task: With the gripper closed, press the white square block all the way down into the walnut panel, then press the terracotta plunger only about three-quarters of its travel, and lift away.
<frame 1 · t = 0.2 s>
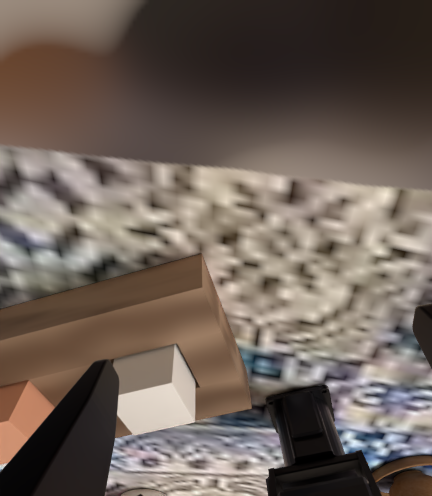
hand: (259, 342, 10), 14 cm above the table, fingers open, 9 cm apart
place setting: (392, 484, 48), on the table
white square block: (154, 388, 25), point 5 cm above the table, slide at 0.0 cm
terracotta plunger: (10, 421, 26), point 5 cm above the table, slide at 0.0 cm
button panel: (98, 351, 30), on the table
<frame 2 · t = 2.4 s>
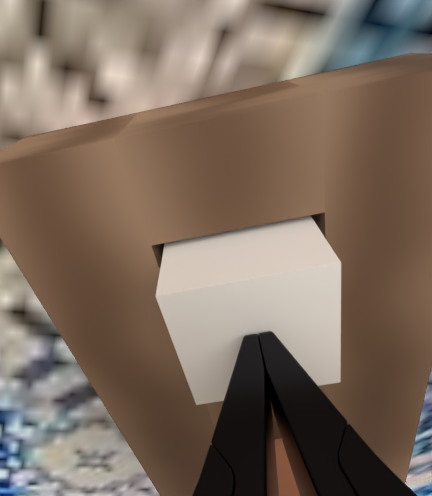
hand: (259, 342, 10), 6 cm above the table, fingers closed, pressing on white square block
white square block: (250, 304, 11), point 4 cm above the table, slide at 0.8 cm, touching gripper
terracotta plunger: (285, 493, 17), point 5 cm above the table, slide at 0.0 cm
button panel: (254, 332, 18), on the table
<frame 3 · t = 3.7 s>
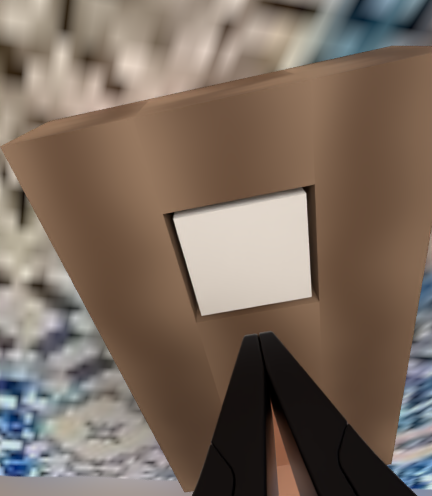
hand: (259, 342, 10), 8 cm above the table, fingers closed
white square block: (243, 239, 15), point 2 cm above the table, slide at 3.1 cm
terracotta plunger: (281, 452, 18), point 5 cm above the table, slide at 0.0 cm
button panel: (254, 306, 20), on the table
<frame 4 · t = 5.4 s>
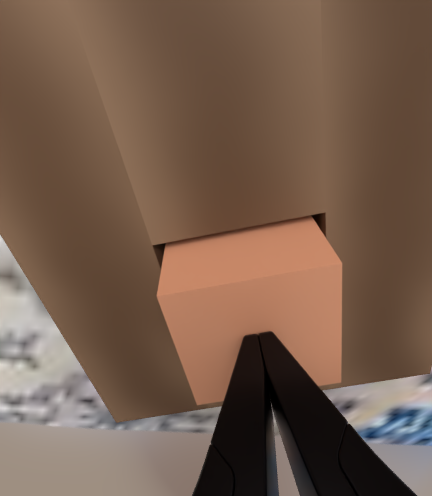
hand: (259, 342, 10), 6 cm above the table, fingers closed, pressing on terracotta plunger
terracotta plunger: (251, 304, 11), point 4 cm above the table, slide at 0.8 cm, touching gripper
button panel: (212, 96, 12), on the table
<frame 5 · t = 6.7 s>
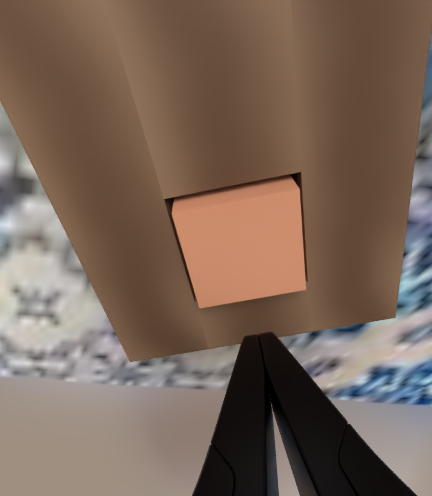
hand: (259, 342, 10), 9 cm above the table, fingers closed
terracotta plunger: (239, 233, 15), point 3 cm above the table, slide at 2.1 cm
button panel: (211, 82, 15), on the table
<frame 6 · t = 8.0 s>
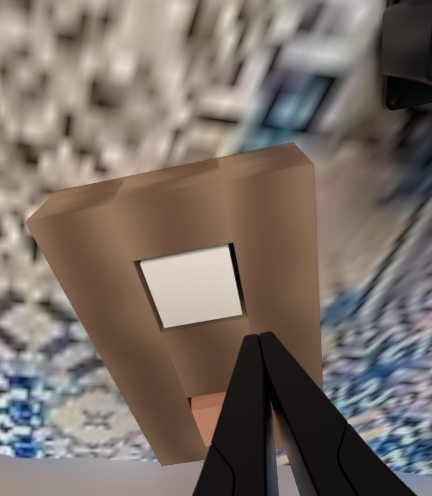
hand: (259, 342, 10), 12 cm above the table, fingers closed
white square block: (194, 272, 20), point 2 cm above the table, slide at 3.1 cm
terracotta plunger: (229, 402, 26), point 3 cm above the table, slide at 2.1 cm
button panel: (212, 318, 25), on the table
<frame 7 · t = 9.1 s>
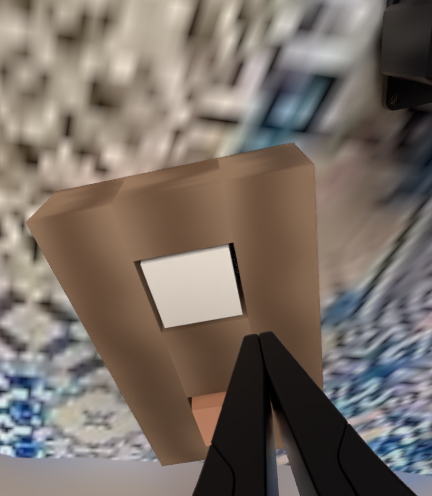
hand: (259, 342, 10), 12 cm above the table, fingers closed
white square block: (194, 272, 20), point 2 cm above the table, slide at 3.1 cm
terracotta plunger: (229, 402, 26), point 3 cm above the table, slide at 2.1 cm
button panel: (212, 318, 25), on the table
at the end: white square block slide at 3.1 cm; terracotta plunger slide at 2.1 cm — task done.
